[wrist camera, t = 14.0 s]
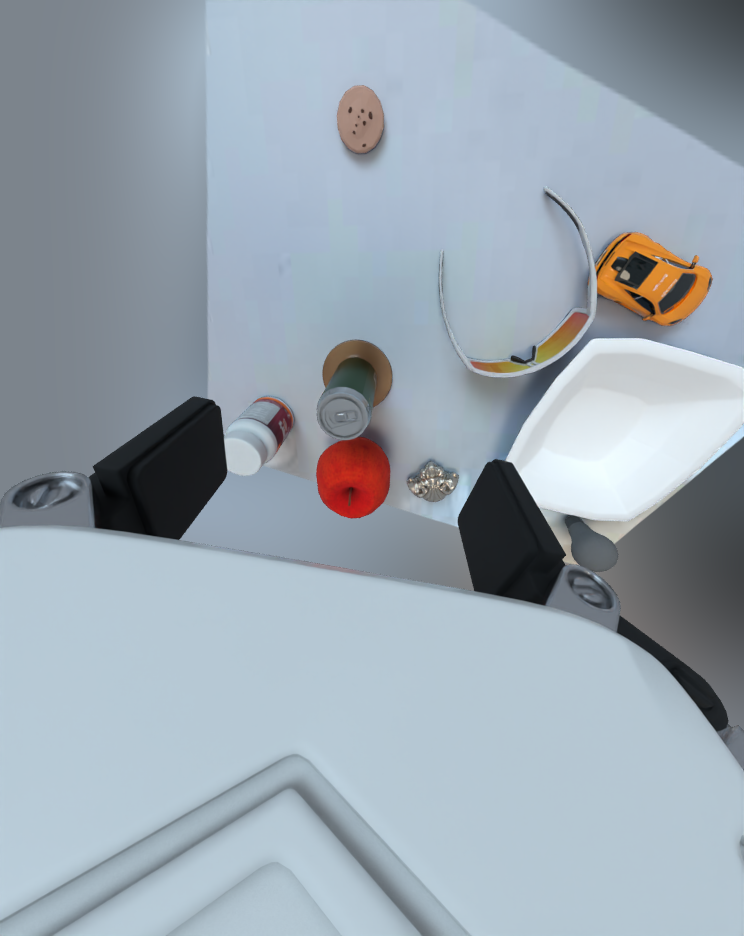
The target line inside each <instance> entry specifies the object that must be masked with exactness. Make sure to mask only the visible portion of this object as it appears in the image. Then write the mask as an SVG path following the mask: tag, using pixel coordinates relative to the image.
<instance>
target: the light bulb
mask: <svg viewBox="0 0 744 936" xmlns="http://www.w3.org/2000/svg"><path fill="white" fill-rule="evenodd" d="M565 524H566V526H567V528H568V532H569V534H570V536H571V539H572V544H571V552H572V556H573V558H574V560H575V561H576V562H577V563H578V564H579V565H580V566H582V567H585V568H587V569H589V570H591V571H594V572H602V571H607V570H609V569H611V568H612V567H613V566H614V565H615V564H616V562H617V560H618V552H617V548H616V546H615V545H614V544H613V542H612V541H610V540H609V539H608V538H607V537H605V536H603V535H601V534H598V533H596V532H594V531H593V530H592V529H590V528H589V526H588V525H587V524H585V523H584V522H583V521H582V520H581V519H580V518H579V517H578V516H574V515H572V516H569V517H567V518H566V520H565Z"/></svg>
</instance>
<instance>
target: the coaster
mask: <svg viewBox="0 0 744 936" xmlns="http://www.w3.org/2000/svg"><path fill="white" fill-rule="evenodd" d="M351 357H358V358H361V359H364V360H366V361H367V362H369V363H370V364H371V365H372V367H373V368H374V370H375V372H376V375H377V384H376V390H375V396H374V402H373V407H374V406H376V405H378V404H379V403H380V402H382V401H383V400H384V398H385V397H386V396H387V394H388V392H389V390H390V387H391V383H392V370H391V366H390V363H389V361H388V359H387V357H386V356H385V354H384V353H383V352H382V351H381V350H380V349H379V348H378V347H376V346H375V345H373V344H371V343H369V342H366V341H362V340H350V341H346V342H343V343H341V344H339V345H337V346H336V347H335V348H334V349H332V351H331V352H330V353H329V354H328V356H327V358H326V360H325V362H324V366H323V381H324V385H325V388H326V387H327V385H328V383H329V381H330V380H331V378H332V376H333V374H334V372H335V371H336V369H337V367H338V366H339V364H340V363H341V362H342V361H344V360H345V359H348V358H351Z"/></svg>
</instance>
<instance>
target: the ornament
mask: <svg viewBox="0 0 744 936" xmlns="http://www.w3.org/2000/svg"><path fill="white" fill-rule="evenodd" d="M458 478H459V475H456V473H455V472H453V473H451V474H449V473H448V472H446V471H444V469H443V468H442V467H437V465H436V464H435V463H433V462H431V461H430V462H429V463H428V464H427V465H426V466H425V468H423V469H421V470H420V474H418V475H416V476H415V478H412V477H411V478H409V480H407V485H408V487H409V489H410V490H411V492H412V493H413V494H414V495H416V496H417V497H419V498H424V499H425V500H427V501H429V502H438V501H440V500H442V499H444V498H445V497H446V495H449V494H451V493H452V492H453V490H454V489H455V487H456V485H457V483H458ZM441 483H442V484H441Z"/></svg>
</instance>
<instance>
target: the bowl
mask: <svg viewBox="0 0 744 936" xmlns="http://www.w3.org/2000/svg"><path fill="white" fill-rule="evenodd" d="M743 424H744V368H743V367H740V366H737V365H734V364H730V363H727V362H724V361H721V360H717V359H714V358H711V357H708V356H704V355H701V354H698V353H695V352H691V351H687V350H684V349H680V348H676V347H672V346H669V345H665V344H661V343H658V342H654V341H650V340H646V339H643V338H595V339H592V340H591V341H589V342H588V344H587V345H586V346H585V347H584V348H583V349H582V350H581V351H580V352H579V353H578V354H577V356H576V357H575V358H574V359H573V360H572V361H571V362H570V363H569V364H568V365H567V366H566V368H565V369H564V370H563V371H562V372H561V373H560V374H559V375H558V376H557V377H556V379H555V380H554V381H553V383H552V384H551V386H550V387H549V388H548V390H547V391H546V393H545V394H544V395H543V397H542V398H541V400H540V401H539V402H538V404H537V405H536V407H535V408H534V409H533V411H532V412H531V414H530V415H529V416H528V418H527V419H526V421H525V422H524V424H523V426H522V428H521V430H520V432H519V434H518V436H517V438H516V440H515V442H514V444H513V446H512V448H511V450H510V452H509V454H508V456H507V458H506V460H505V461H507V462H511V463H513V465H514V466H515V468H516V470H517V471H518V473H519V475H520V477H521V478H522V480H523V482H524V483H525V485H526V487H527V489H528V490H529V492H530V494H531V495H532V497H533V499H534V501H535V502H536V504H537V506H538V507H539V508H543V509H548V510H552V511H556V512H560V513H564V514H569V515H574V516H578V517H583V518H587V519H592V520H601V521H630V520H632V519H633V518H635V517H636V516H638V515H639V514H641V513H642V512H644V511H645V510H647V509H649V508H650V507H652V506H653V505H655V504H656V503H658V502H659V501H661V500H662V499H663V498H664V497H666V496H667V495H668V494H669V493H671V492H672V491H673V490H674V489H676V488H677V487H678V486H679V485H681V484H682V483H683V482H684V481H686V480H687V479H688V478H689V477H691V476H692V475H693V474H694V473H695V472H697V471H698V470H699V469H700V468H701V467H702V466H703V465H704V464H705V463H706V462H707V461H708V460H709V459H710V458H711V457H712V456H713V455H714V454H715V453H716V452H717V451H718V450H719V449H720V448H721V447H722V446H723V445H724V444H725V443H726V442H727V441H728V440H729V439H730V438H731V437H732V436H733V435H734V434H735V433H736V432H737V431H738V430H739V429H740V428H741V426H742V425H743Z"/></svg>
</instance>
